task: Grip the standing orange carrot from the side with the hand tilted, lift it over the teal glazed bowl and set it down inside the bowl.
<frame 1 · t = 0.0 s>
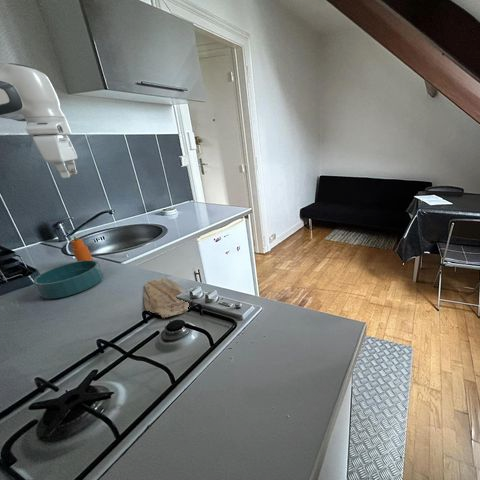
hand: (70, 176, 83), 33 cm above the worktop, tool pointing down, fingers open, 8 cm apart
bowl: (74, 286, 84), on the worktop
carrot: (87, 264, 99), on the worktop
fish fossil: (165, 296, 75), on the worktop
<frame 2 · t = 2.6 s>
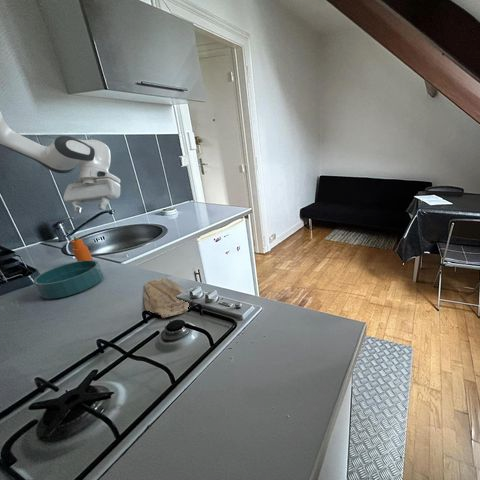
hand: (89, 210, 101), 18 cm above the worktop, tool tilted 40°, fingers open, 8 cm apart
nothing on the worktop moved.
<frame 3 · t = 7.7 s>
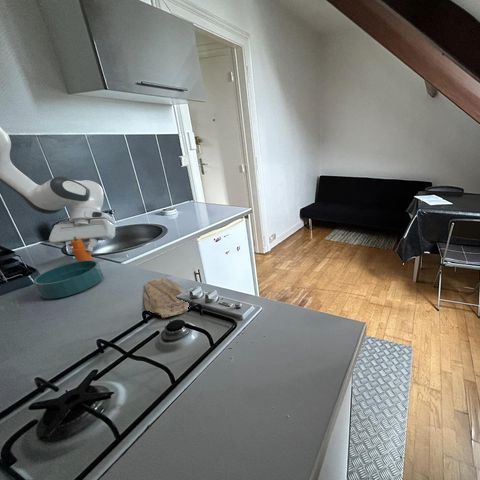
hand: (80, 252, 96), 5 cm above the worktop, tool tilted 45°, fingers closed on carrot, 4 cm apart
carrot: (87, 264, 99), on the worktop, touching gripper
everything else where it was.
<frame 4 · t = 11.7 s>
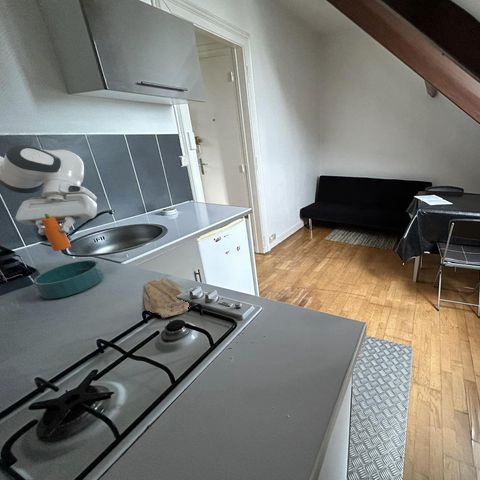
hand: (53, 233, 80), 17 cm above the worktop, tool tilted 45°, fingers closed on carrot, 4 cm apart
carrot: (62, 248, 83), point 12 cm above the worktop, touching gripper
everything else where it was.
when the fingers open (6 cm above the worktop, at t = 15.8 s): carrot stays where it is, resting on bowl.
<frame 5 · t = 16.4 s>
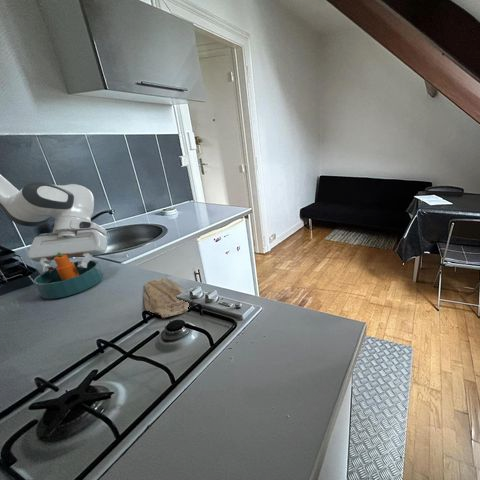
hand: (64, 270, 81), 6 cm above the worktop, tool tilted 45°, fingers open, 8 cm apart
carrot: (74, 284, 84), point 1 cm above the worktop, touching bowl
everything else where it was.
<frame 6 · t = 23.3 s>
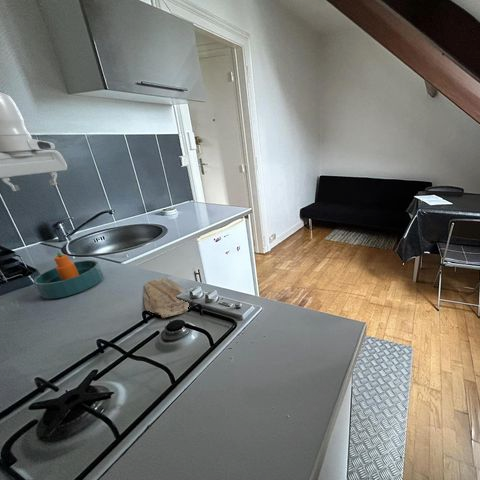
hand: (36, 188, 90), 29 cm above the worktop, tool pointing down, fingers open, 8 cm apart
nothing on the worktop moved.
at the end: carrot inside the target area in the bowl (0.0 cm from its centre), point 0.6 cm above the bowl's base; the gripper is holding nothing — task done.
